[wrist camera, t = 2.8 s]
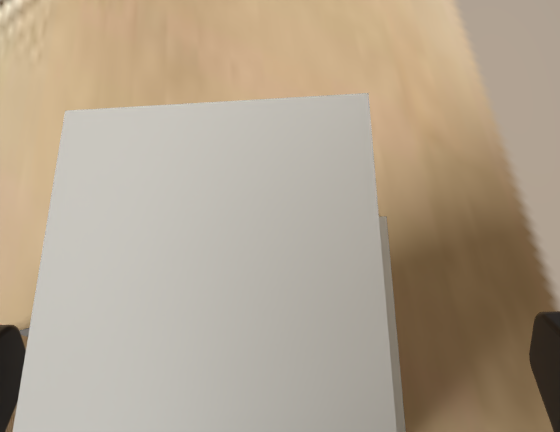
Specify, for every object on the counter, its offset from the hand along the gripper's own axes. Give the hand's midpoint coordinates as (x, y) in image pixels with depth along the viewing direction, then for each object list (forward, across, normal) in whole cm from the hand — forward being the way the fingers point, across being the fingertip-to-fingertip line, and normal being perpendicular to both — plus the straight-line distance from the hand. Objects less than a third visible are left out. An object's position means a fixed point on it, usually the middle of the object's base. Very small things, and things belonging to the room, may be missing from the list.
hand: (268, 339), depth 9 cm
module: (+5, 0, +6) cm, 7 cm away
